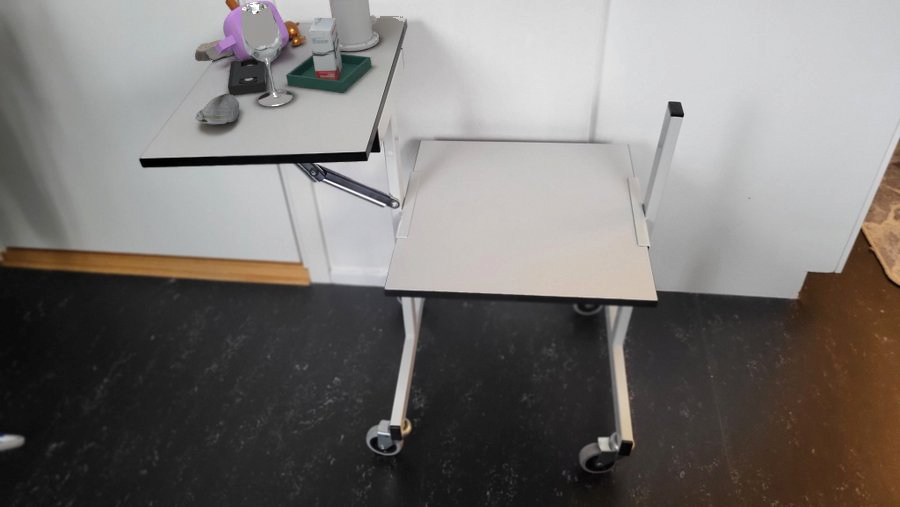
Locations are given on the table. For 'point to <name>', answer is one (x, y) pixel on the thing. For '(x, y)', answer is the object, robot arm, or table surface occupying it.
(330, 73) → the ink box
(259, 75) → the vhs tape
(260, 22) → the wineglass
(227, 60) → the table surface
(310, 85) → the tray
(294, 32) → the figurine
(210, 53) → the stone
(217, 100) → the seashell
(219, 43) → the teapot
